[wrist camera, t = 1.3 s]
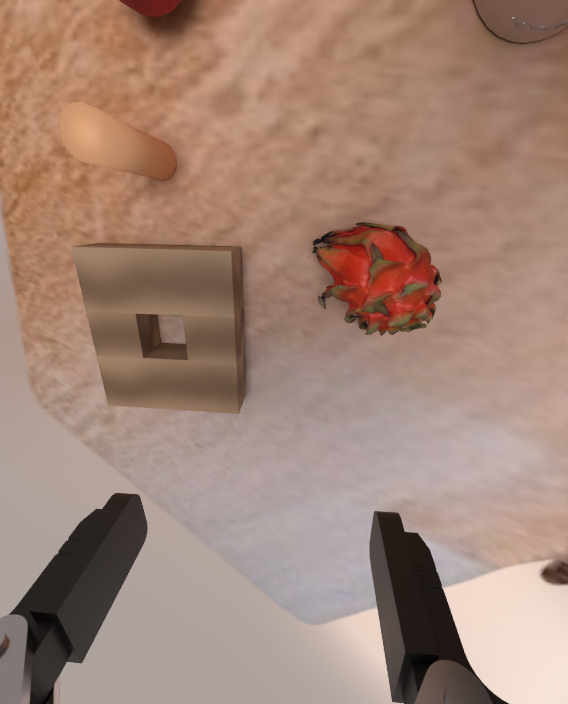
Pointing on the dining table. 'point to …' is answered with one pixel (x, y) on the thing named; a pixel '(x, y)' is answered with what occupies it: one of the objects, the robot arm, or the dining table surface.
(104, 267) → the hole block
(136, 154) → the peg
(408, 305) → the dragon fruit
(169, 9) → the onion
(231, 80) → the dining table surface
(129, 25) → the dining table surface
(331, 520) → the dining table surface
